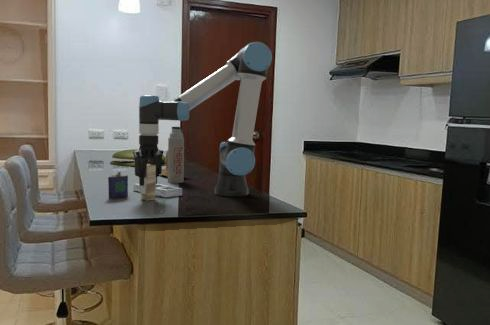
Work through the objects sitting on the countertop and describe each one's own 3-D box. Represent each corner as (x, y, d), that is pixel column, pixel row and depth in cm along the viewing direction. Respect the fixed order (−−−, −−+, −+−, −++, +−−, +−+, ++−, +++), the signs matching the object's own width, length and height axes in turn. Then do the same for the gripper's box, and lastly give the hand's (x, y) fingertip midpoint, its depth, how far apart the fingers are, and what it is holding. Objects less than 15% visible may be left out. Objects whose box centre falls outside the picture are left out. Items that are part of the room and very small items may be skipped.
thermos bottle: (184, 182, 234) (185, 127, 231) (168, 182, 232) (169, 126, 229) (182, 180, 242) (183, 126, 239) (166, 180, 240) (167, 126, 237)
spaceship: (173, 165, 314) (173, 150, 313) (140, 168, 288) (140, 153, 287) (136, 160, 332) (136, 147, 331) (102, 163, 306) (102, 149, 305)
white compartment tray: (182, 195, 199) (182, 188, 199) (165, 197, 192) (166, 190, 192) (149, 188, 213) (149, 182, 213) (133, 190, 206) (133, 183, 206)
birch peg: (155, 199, 187) (155, 164, 185) (147, 200, 184) (147, 165, 182) (149, 198, 189) (149, 164, 188) (141, 199, 186) (141, 164, 185)
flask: (125, 195, 194) (125, 170, 192) (129, 196, 192) (130, 171, 191) (106, 198, 186) (107, 172, 185) (111, 199, 184) (111, 172, 183)
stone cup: (186, 178, 252) (187, 150, 250) (165, 178, 246) (166, 150, 244) (176, 174, 265) (176, 148, 263) (156, 175, 259) (156, 148, 258)
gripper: (159, 133, 193) (159, 189, 195) (124, 134, 180) (124, 194, 182) (171, 134, 188) (170, 191, 190) (136, 135, 175) (136, 196, 177)
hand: (148, 192), depth 186 cm, fingers closed on birch peg, 4 cm apart
